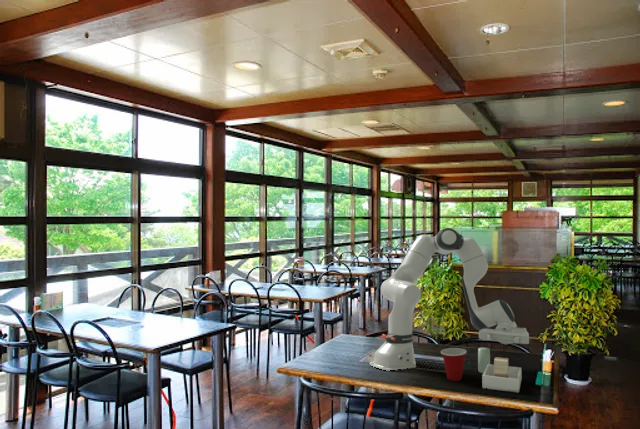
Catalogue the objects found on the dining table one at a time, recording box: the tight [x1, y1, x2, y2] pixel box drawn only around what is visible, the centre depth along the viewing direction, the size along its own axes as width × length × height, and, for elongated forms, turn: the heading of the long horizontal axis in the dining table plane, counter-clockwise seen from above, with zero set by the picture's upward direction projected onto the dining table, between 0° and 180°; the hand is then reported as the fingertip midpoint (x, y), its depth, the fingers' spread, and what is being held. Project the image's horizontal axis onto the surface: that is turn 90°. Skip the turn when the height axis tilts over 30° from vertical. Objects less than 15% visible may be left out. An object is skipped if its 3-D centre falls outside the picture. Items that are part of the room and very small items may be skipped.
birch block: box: [493, 356, 510, 378], centre depth 203 cm, size 5×5×10 cm
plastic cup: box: [440, 347, 467, 382], centre depth 213 cm, size 11×11×12 cm
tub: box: [481, 363, 523, 394], centre depth 206 cm, size 18×14×5 cm
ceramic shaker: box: [477, 347, 491, 374], centre depth 223 cm, size 5×5×10 cm
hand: (502, 339), depth 208 cm, fingers open, 8 cm apart
